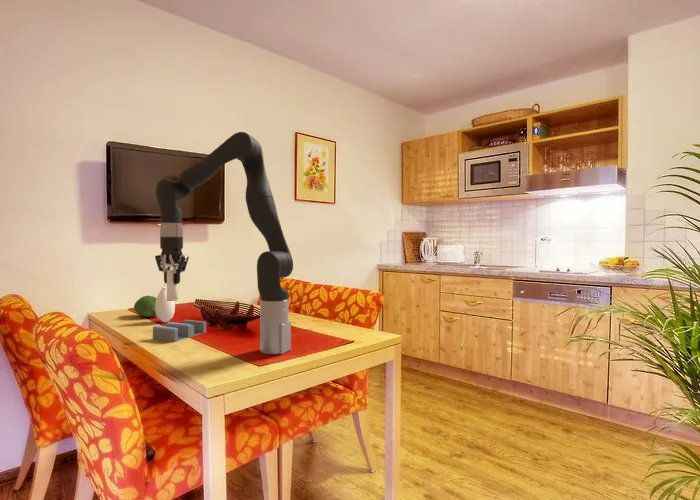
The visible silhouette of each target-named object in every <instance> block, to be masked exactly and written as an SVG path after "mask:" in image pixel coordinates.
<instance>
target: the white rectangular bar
mask: <svg viewBox="0 0 700 500" xmlns="http://www.w3.org/2000/svg"><path fill="white" fill-rule="evenodd" d="M173 274H174V272H173V269H171V270H167V284H166V287H167V301H174V302H176V301H178V284H174V283H173Z"/></svg>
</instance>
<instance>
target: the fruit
mask: <svg viewBox="0 0 700 500" xmlns="http://www.w3.org/2000/svg"><path fill="white" fill-rule="evenodd" d="M156 299H157V297H156V296H153V295H145V296H142V297H141V298H138V300H137V301H136V302H135V303H134V305H133V310H134V311H135V312H136V313H137V314H138V315H140V316H141V317H144V318H153V317H157V316H156V312H155V303H156Z"/></svg>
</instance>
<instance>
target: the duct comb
mask: <svg viewBox="0 0 700 500" xmlns="http://www.w3.org/2000/svg"><path fill="white" fill-rule="evenodd" d="M205 333H207V321H203V320H193V319H192V320H191V319H182V323H180V322H173V321H172V322H171V321H168V322H166V326H164V325H163V326H161V325H155V326H152V340H154V341H155V340H156V341H163V342H170V343H176V342H180V341H183V340H186V339H190V338H193V337H195V336H199V335H201V334H205Z"/></svg>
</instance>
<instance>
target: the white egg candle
mask: <svg viewBox="0 0 700 500" xmlns="http://www.w3.org/2000/svg"><path fill="white" fill-rule="evenodd" d="M163 283H164V286H162V287H161V290H160V291H159V292H158V295H157V296H156V298H157V299H156V303H155V312H156V316H155V317H157V319H158V320H160V322H162V323H168V322H171V321H170V320H171V319H173V318H174V316H175V313H176V312H175V310H176V305H175V301H167V285H166V283H165V282H164V281H163Z"/></svg>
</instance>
